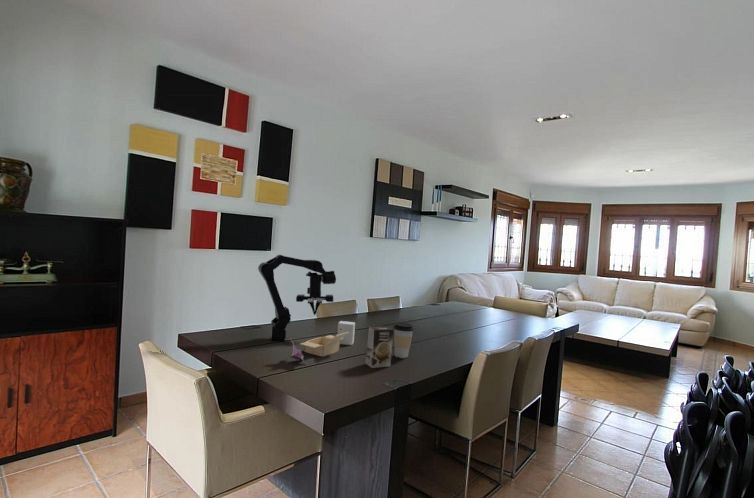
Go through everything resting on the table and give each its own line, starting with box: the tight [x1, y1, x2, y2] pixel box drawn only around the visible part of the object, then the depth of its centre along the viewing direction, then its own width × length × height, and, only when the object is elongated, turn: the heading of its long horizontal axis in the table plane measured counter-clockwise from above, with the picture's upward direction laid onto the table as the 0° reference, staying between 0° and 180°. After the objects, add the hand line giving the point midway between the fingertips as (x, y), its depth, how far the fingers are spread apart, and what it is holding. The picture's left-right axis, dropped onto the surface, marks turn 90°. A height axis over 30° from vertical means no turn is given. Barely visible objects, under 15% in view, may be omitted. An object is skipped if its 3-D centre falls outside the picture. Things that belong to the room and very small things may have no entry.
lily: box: [285, 339, 306, 365], centre depth 163 cm, size 12×12×10 cm
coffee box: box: [365, 326, 395, 369], centre depth 170 cm, size 9×6×16 cm
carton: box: [300, 334, 344, 358], centre depth 183 cm, size 11×22×5 cm, turn 151°
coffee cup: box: [393, 322, 414, 359], centre depth 186 cm, size 9×9×15 cm
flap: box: [325, 332, 349, 345], centre depth 179 cm, size 8×10×1 cm
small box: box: [336, 320, 356, 346], centre depth 200 cm, size 8×6×10 cm
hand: (314, 314), depth 205 cm, fingers closed
